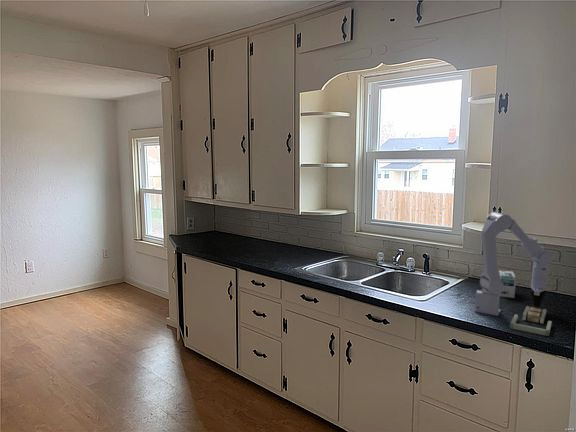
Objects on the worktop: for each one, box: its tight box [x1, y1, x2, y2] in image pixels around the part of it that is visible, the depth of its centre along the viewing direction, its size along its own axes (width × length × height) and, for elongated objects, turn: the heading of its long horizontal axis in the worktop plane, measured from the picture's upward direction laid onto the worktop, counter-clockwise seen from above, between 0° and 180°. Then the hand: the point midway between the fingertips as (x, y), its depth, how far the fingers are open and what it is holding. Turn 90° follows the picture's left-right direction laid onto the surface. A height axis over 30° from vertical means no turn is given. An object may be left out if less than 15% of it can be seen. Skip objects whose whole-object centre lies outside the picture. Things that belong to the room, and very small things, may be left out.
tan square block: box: [529, 306, 542, 317], centre depth 185 cm, size 4×4×3 cm
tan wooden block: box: [526, 311, 541, 324], centre depth 180 cm, size 4×4×3 cm
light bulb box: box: [498, 269, 517, 299], centre depth 212 cm, size 11×7×11 cm, turn 158°
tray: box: [509, 314, 553, 337], centre depth 173 cm, size 13×12×2 cm
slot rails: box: [521, 305, 547, 325], centre depth 183 cm, size 8×12×2 cm, turn 145°
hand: (537, 306), depth 190 cm, fingers closed
